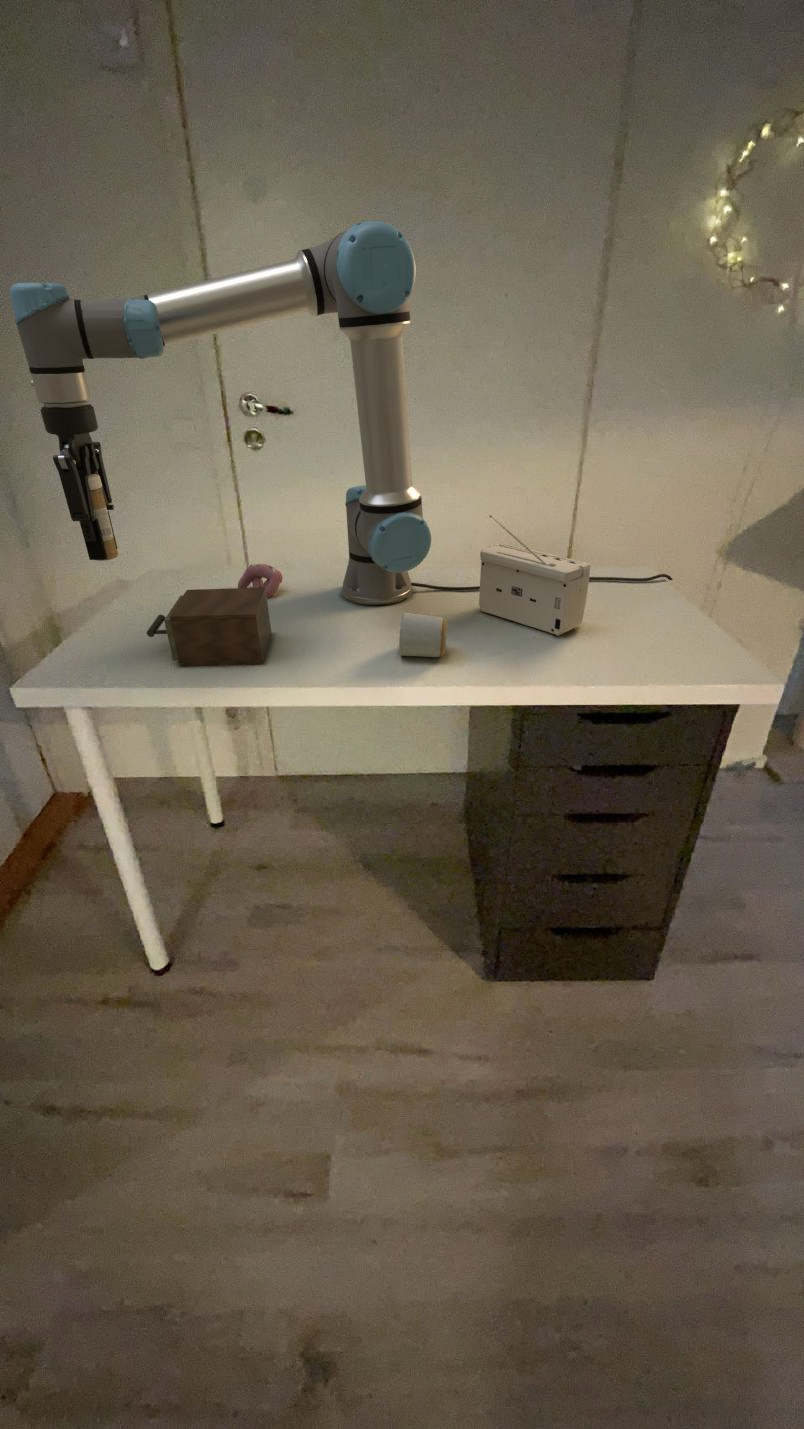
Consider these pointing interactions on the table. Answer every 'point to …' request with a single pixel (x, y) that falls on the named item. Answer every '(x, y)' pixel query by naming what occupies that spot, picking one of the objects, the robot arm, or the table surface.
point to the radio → (533, 587)
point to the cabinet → (221, 627)
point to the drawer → (168, 631)
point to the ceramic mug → (422, 635)
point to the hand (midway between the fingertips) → (103, 554)
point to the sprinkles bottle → (102, 516)
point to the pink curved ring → (255, 576)
